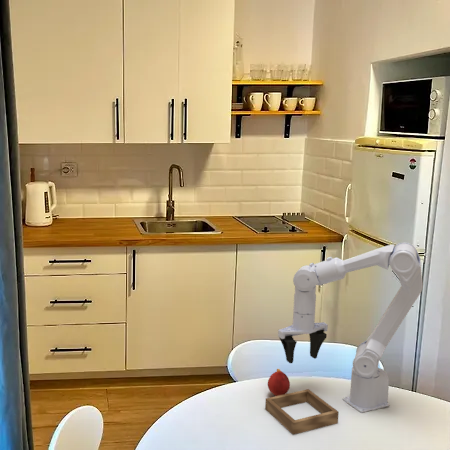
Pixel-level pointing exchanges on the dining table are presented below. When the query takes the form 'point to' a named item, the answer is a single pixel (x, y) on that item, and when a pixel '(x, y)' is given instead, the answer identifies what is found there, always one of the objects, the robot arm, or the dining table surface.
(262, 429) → the dining table surface
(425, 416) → the dining table surface
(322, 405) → the box
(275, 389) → the onion
